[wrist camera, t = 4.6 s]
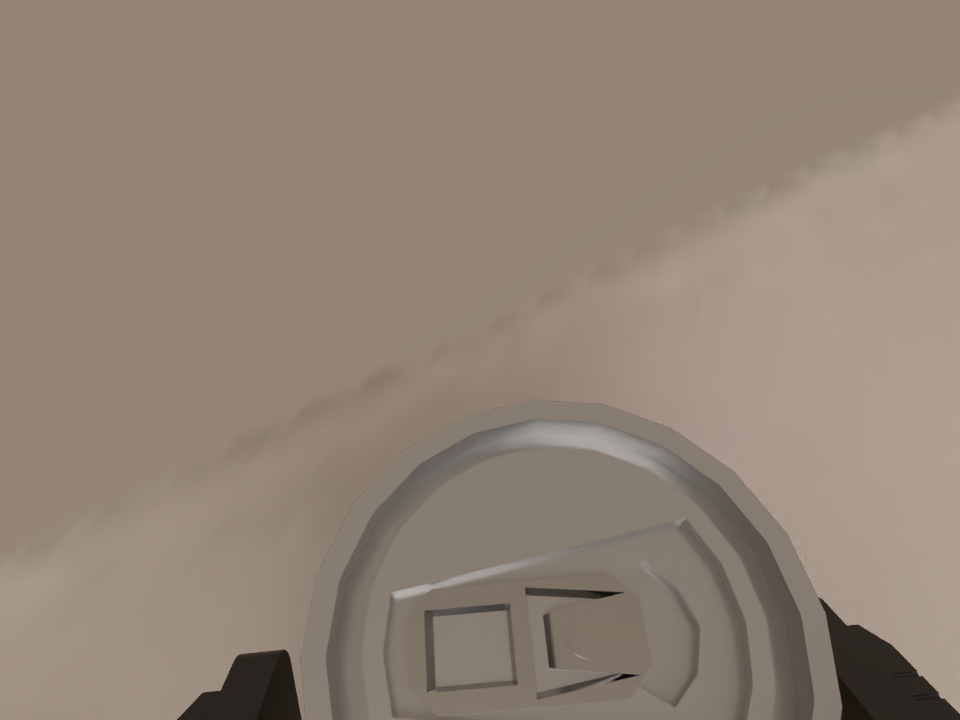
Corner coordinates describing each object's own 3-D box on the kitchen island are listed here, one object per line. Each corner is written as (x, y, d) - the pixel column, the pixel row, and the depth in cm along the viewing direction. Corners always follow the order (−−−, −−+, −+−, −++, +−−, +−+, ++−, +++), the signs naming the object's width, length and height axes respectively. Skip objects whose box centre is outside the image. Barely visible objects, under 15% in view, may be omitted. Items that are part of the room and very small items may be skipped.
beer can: (417, 833, 15) (245, 1077, 5) (411, 592, 18) (294, 400, 7) (645, 811, 15) (984, 1001, 5) (605, 575, 18) (763, 363, 7)
